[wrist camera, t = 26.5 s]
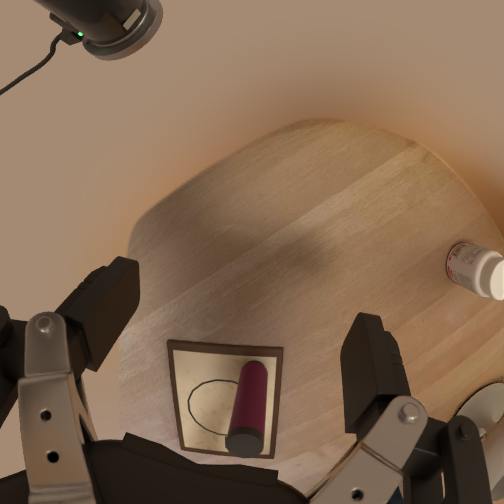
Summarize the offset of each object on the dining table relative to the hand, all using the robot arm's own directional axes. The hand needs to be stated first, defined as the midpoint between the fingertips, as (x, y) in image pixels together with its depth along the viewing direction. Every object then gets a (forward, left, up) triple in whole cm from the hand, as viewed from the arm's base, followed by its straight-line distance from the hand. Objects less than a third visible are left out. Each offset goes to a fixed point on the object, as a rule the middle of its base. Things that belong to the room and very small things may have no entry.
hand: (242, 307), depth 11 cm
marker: (-1, -15, -20) cm, 25 cm away
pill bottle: (+23, -2, -21) cm, 31 cm away
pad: (-4, -21, -21) cm, 30 cm away
